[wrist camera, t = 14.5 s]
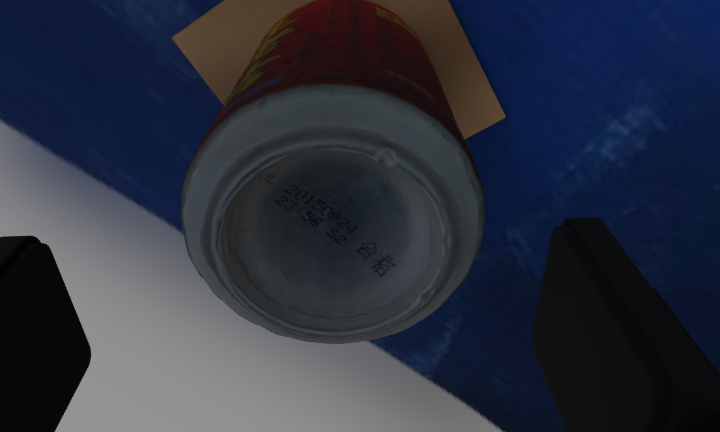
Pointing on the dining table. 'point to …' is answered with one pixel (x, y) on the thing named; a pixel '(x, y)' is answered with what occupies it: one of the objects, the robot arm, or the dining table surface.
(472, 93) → the cork mat
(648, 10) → the dining table surface
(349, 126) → the soda can
